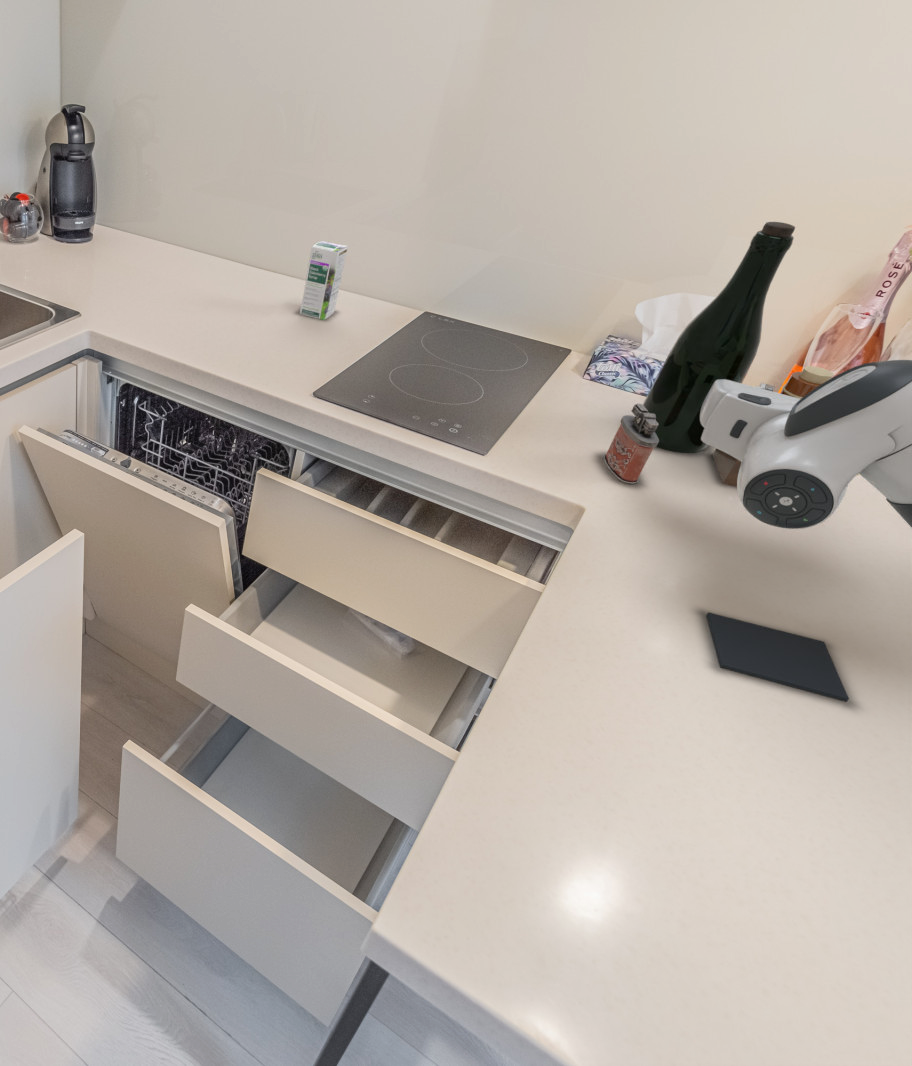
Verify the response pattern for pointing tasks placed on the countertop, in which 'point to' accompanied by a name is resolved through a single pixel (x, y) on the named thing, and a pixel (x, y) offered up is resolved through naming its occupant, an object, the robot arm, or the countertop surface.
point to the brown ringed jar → (805, 381)
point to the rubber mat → (775, 656)
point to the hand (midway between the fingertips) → (810, 401)
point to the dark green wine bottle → (716, 343)
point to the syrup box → (323, 279)
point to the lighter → (632, 445)
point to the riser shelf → (727, 467)
